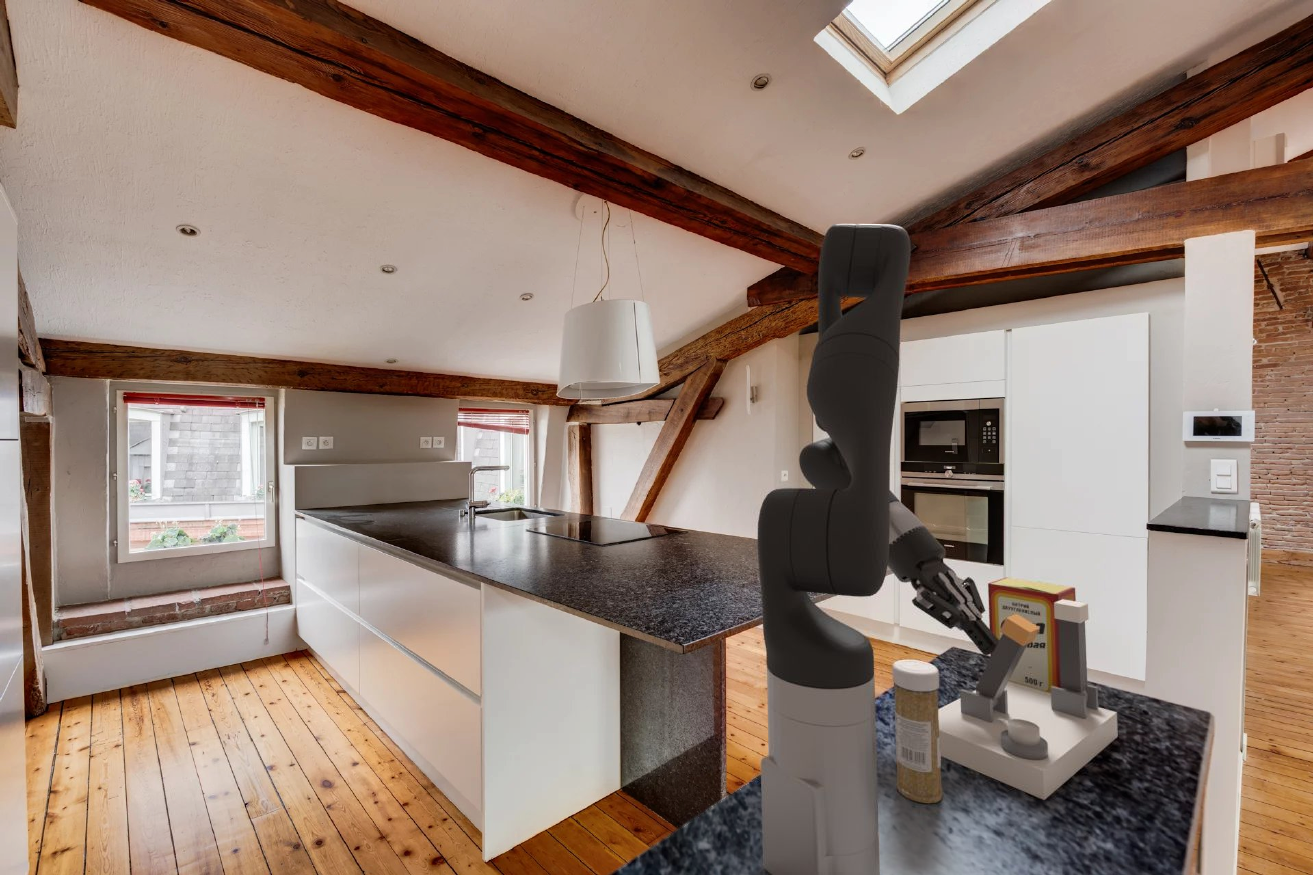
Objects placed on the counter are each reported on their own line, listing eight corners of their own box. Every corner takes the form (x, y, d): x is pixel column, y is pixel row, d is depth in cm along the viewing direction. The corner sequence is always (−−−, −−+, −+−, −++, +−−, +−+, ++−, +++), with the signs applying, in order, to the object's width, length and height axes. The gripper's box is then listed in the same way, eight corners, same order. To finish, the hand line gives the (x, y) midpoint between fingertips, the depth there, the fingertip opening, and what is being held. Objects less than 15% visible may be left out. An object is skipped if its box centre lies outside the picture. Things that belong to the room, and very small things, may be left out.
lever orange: (986, 718, 71) (1030, 632, 67) (964, 702, 74) (1006, 617, 70) (996, 712, 73) (1040, 627, 69) (975, 696, 75) (1016, 613, 71)
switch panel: (1044, 799, 59) (1042, 743, 60) (916, 745, 71) (915, 698, 71) (1117, 736, 72) (1115, 689, 72) (999, 699, 84) (997, 658, 84)
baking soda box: (991, 684, 89) (987, 580, 89) (1009, 674, 93) (1006, 575, 93) (1062, 705, 81) (1058, 592, 82) (1079, 693, 85) (1075, 585, 86)
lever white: (1083, 712, 72) (1079, 607, 72) (1057, 705, 74) (1054, 602, 74) (1091, 706, 73) (1087, 603, 74) (1066, 699, 75) (1062, 599, 76)
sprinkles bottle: (951, 795, 61) (947, 666, 61) (926, 810, 58) (922, 676, 58) (911, 775, 64) (908, 654, 65) (886, 789, 62) (883, 663, 62)
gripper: (892, 528, 76) (991, 646, 66) (943, 520, 84) (1039, 624, 74) (858, 562, 80) (946, 678, 70) (910, 551, 88) (996, 654, 78)
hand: (994, 650), depth 72 cm, fingers closed
